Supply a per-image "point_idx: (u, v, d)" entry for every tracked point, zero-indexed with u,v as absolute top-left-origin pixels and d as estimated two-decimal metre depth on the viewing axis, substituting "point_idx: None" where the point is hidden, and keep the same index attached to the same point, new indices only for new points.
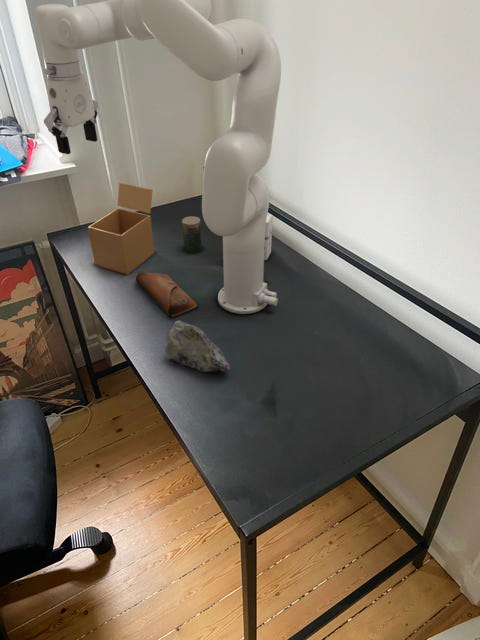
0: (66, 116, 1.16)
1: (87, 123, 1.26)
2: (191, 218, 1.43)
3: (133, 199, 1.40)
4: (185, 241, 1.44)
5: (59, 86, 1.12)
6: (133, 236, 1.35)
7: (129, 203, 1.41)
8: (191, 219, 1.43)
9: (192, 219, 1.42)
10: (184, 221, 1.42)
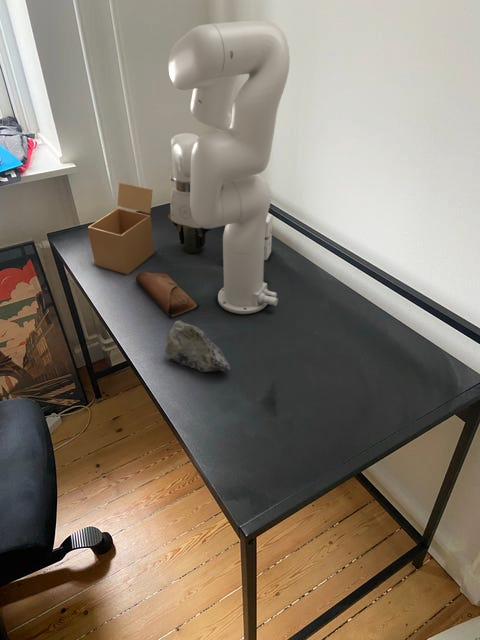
0: (171, 213, 1.41)
1: None
2: None
3: (133, 199, 1.40)
4: (185, 241, 1.44)
5: (171, 192, 1.37)
6: (133, 236, 1.35)
7: (129, 203, 1.41)
8: None
9: None
10: None
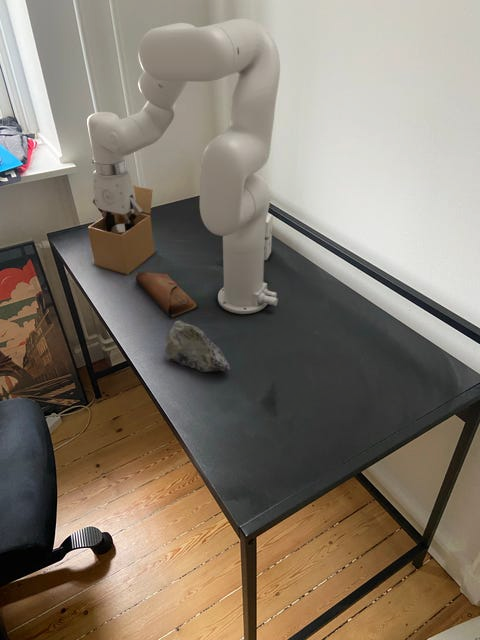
0: (95, 199, 1.33)
1: None
2: (121, 226, 1.39)
3: None
4: None
5: (93, 175, 1.29)
6: (133, 236, 1.35)
7: None
8: (121, 227, 1.38)
9: (122, 227, 1.38)
10: (113, 229, 1.37)
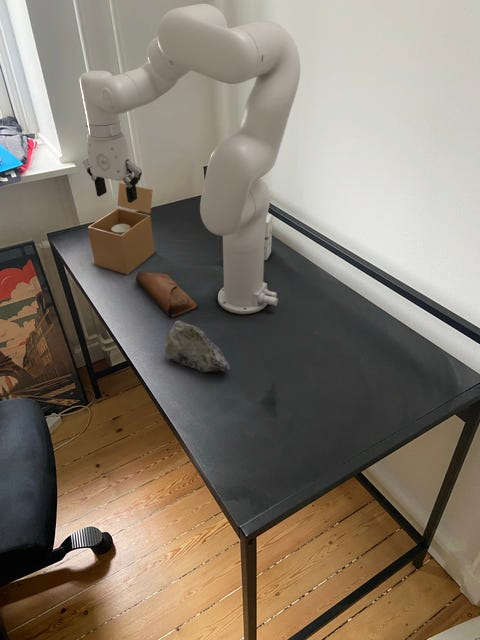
0: (89, 165, 1.27)
1: None
2: (121, 226, 1.39)
3: None
4: None
5: (87, 140, 1.24)
6: (133, 236, 1.35)
7: (129, 203, 1.41)
8: (121, 227, 1.38)
9: (122, 227, 1.38)
10: (113, 229, 1.37)
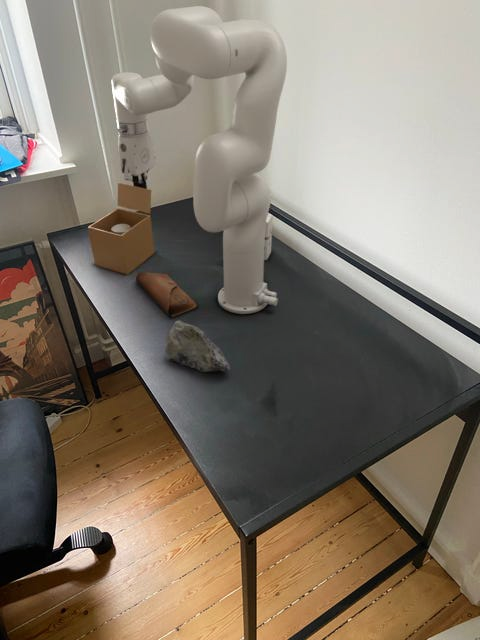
0: (134, 167, 1.32)
1: None
2: (121, 226, 1.39)
3: (132, 199, 1.40)
4: None
5: (130, 142, 1.29)
6: (133, 236, 1.35)
7: (129, 203, 1.41)
8: (121, 227, 1.38)
9: (122, 227, 1.38)
10: (113, 229, 1.37)
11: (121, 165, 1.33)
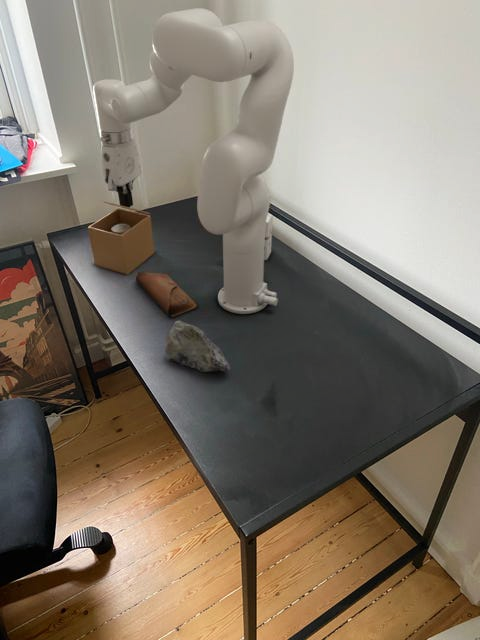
0: (118, 177, 1.27)
1: None
2: (121, 226, 1.39)
3: None
4: None
5: (113, 152, 1.24)
6: (133, 236, 1.35)
7: (126, 208, 1.40)
8: (121, 227, 1.38)
9: (122, 227, 1.38)
10: (113, 229, 1.37)
11: (105, 175, 1.28)
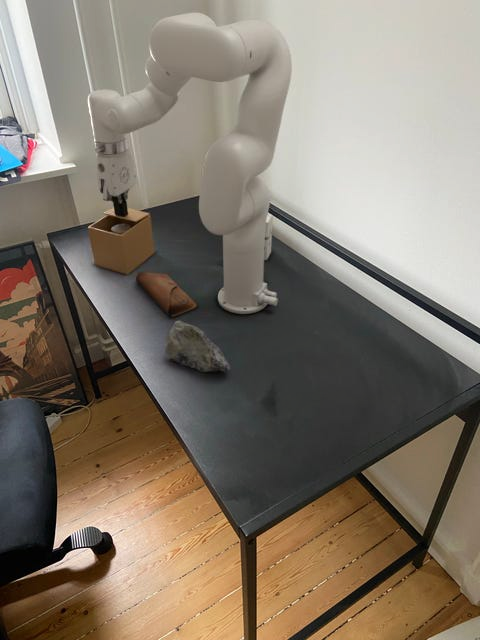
0: (113, 187, 1.27)
1: None
2: (121, 226, 1.39)
3: None
4: None
5: (108, 162, 1.23)
6: (133, 236, 1.35)
7: None
8: (121, 227, 1.38)
9: (122, 227, 1.38)
10: (113, 229, 1.37)
11: (99, 185, 1.28)
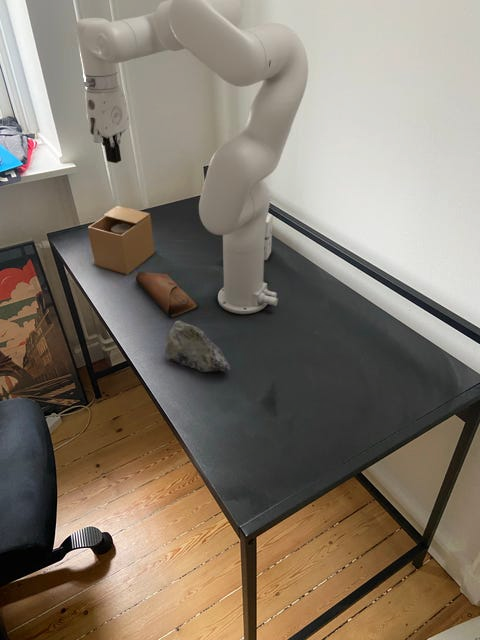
0: (104, 127, 1.18)
1: None
2: (121, 226, 1.39)
3: None
4: None
5: (98, 98, 1.15)
6: (133, 236, 1.35)
7: None
8: (121, 227, 1.38)
9: (122, 227, 1.38)
10: (113, 229, 1.37)
11: (90, 125, 1.19)
